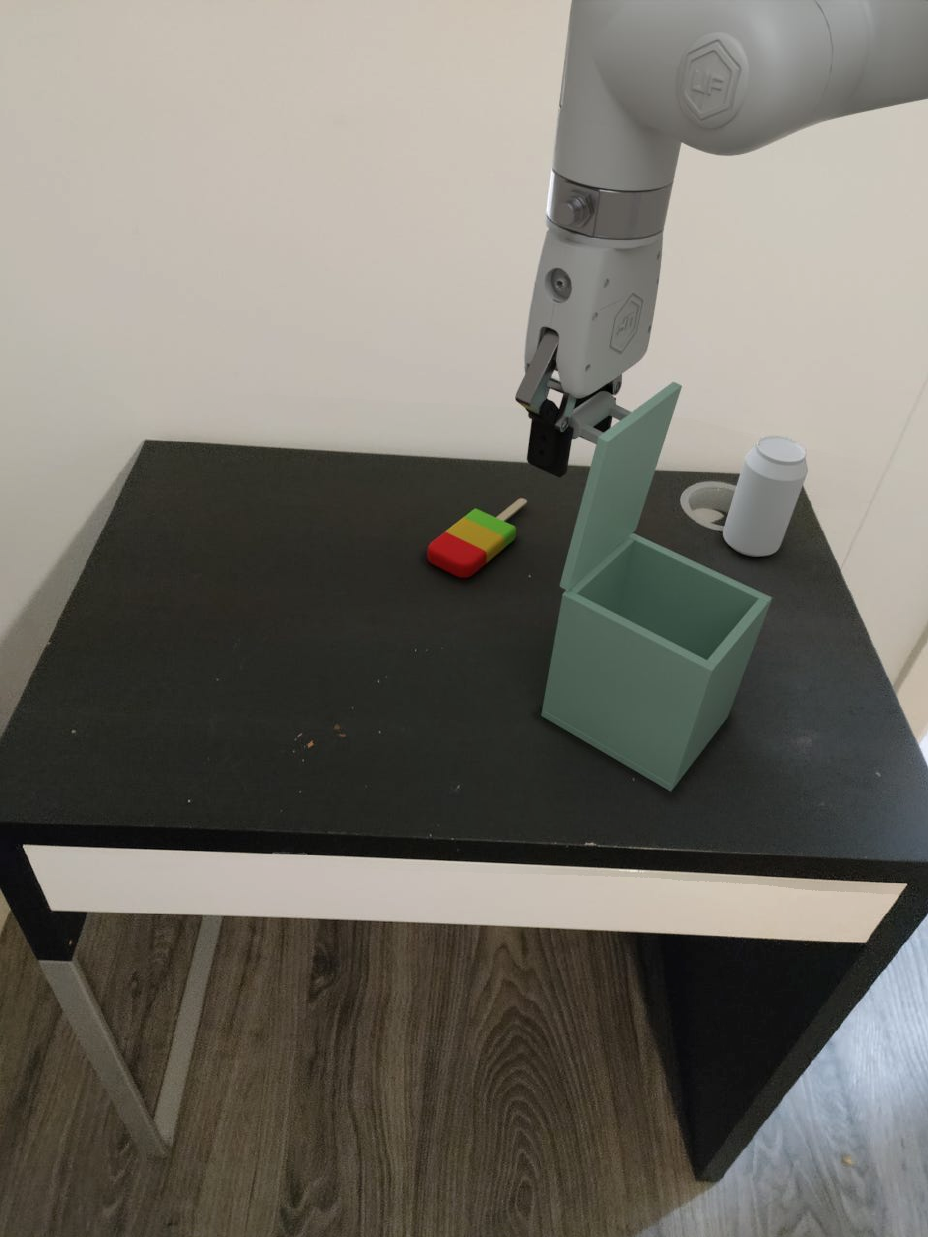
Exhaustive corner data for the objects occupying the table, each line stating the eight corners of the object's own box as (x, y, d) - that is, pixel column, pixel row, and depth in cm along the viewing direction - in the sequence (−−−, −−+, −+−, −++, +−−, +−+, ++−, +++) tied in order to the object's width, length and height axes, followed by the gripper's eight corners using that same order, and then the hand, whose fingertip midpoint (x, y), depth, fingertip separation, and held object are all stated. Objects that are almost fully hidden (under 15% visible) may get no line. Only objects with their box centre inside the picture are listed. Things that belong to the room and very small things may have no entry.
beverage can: (779, 534, 102) (813, 439, 94) (777, 567, 98) (813, 470, 90) (722, 522, 103) (751, 427, 95) (718, 554, 99) (748, 457, 91)
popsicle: (421, 561, 95) (422, 546, 93) (502, 497, 104) (504, 483, 103) (465, 583, 92) (467, 568, 91) (544, 516, 102) (546, 502, 101)
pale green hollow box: (727, 717, 81) (772, 597, 72) (670, 792, 75) (712, 671, 65) (604, 651, 86) (631, 531, 77) (540, 715, 80) (562, 593, 71)
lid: (682, 385, 67) (621, 357, 69) (608, 441, 61) (543, 408, 63) (636, 529, 77) (583, 501, 79) (567, 591, 70) (512, 559, 72)
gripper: (586, 255, 51) (546, 522, 63) (721, 188, 62) (664, 428, 74) (478, 219, 54) (459, 480, 67) (623, 161, 65) (584, 396, 77)
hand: (567, 451), depth 70 cm, fingers closed on lid, 5 cm apart
